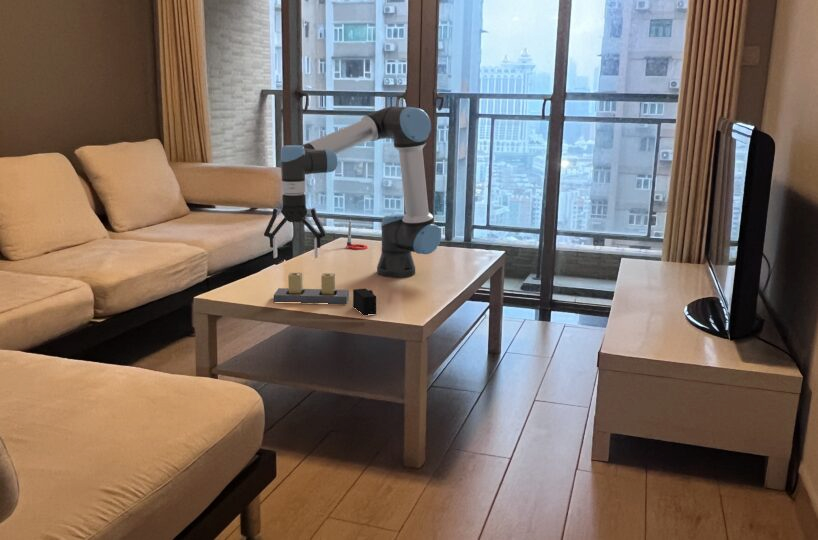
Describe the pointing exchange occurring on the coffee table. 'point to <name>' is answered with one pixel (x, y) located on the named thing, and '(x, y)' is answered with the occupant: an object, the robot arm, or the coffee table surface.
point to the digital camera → (364, 301)
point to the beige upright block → (328, 284)
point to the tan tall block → (295, 283)
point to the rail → (311, 296)
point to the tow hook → (352, 246)
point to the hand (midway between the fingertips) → (295, 257)
